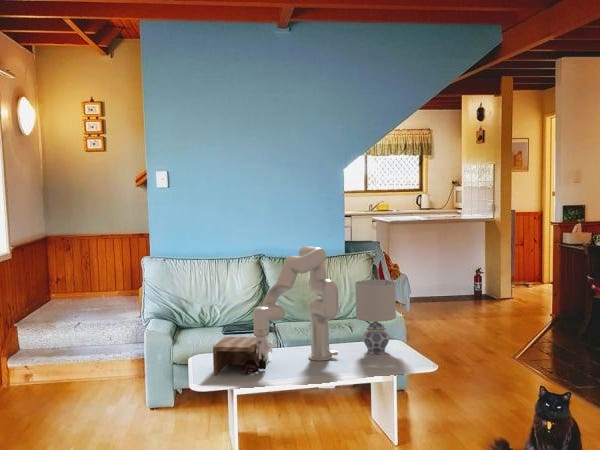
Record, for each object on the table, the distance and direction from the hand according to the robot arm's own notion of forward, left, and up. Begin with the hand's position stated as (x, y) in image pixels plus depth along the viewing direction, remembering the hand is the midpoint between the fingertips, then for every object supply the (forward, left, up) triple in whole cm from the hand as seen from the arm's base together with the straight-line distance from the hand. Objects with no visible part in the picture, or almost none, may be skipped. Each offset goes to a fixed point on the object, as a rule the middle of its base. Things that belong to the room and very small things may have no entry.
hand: (262, 368), depth 287 cm
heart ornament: (+7, +1, -2) cm, 7 cm away
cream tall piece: (+3, -20, -1) cm, 20 cm away
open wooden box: (+12, -1, -1) cm, 12 cm away
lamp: (-55, -38, -1) cm, 67 cm away
